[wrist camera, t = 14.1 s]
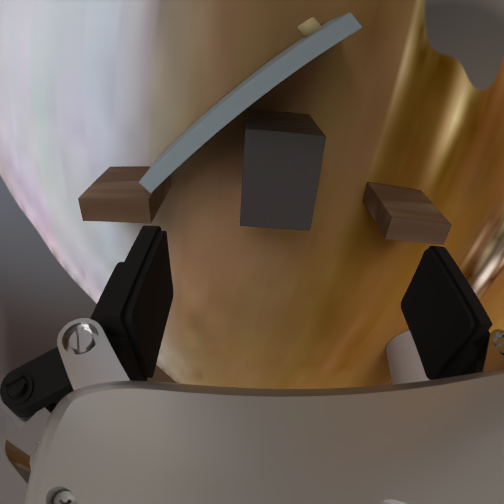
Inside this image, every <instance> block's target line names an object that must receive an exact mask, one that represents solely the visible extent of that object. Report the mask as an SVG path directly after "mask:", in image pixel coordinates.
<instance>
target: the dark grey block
mask: <svg viewBox="0 0 504 504" xmlns="http://www.w3.org/2000/svg"><path fill="white" fill-rule="evenodd" d="M325 138H326V136H325V135H324V134H323V132H322V131H321V130H320V128H319V127H318V126H317V124H316V123H315V122H314V120H313V119H312V118H311V117H310V115H307V114H299V113H289V112H279V111H266V110H252V109H248V114H247V121H246V127H245V142H244V159H243V177H242V195H241V215H240V226H251V227H267V228H282V229H296V230H310V226H311V221H312V215H313V210H314V204H315V199H316V193H317V187H318V182H319V176H320V170H321V164H322V157H323V151H324V145H325Z"/></svg>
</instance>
